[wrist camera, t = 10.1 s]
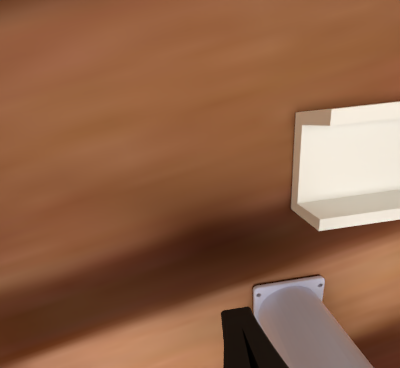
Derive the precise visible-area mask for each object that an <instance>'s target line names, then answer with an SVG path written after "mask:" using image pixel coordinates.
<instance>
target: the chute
mask: <svg viewBox="0 0 400 368" xmlns="http://www.w3.org/2000/svg"><path fill="white" fill-rule="evenodd" d="M291 209H292V210H293V211H294V212H295V213H297V214H298V215H299V216H301V217H302V218H303V219H304V220H306V221H307V222H308V223H309V224H311V225H312V226H313V227H314V228H316V229H317V230H318V231H322V230H329V229H336V228H343V227H350V226H357V225H364V224H371V223H378V222H385V221H392V220H399V219H400V101H396V102H387V103H378V104H368V105H359V106H350V107H341V108H332V109H323V110H314V111H305V112H296V117H295V136H294V156H293V176H292V196H291Z"/></svg>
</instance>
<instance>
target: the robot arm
mask: <svg viewBox="0 0 400 368" xmlns="http://www.w3.org/2000/svg"><path fill="white" fill-rule="evenodd" d="M324 283H325V279H324V278H323V277H322V276H314V277H308V278H302V279H295V280H289V281H283V282H276V283H270V284H264V285H257V286H255V287H254V288H253V313H252V311H251V309H250V308H249V307H243V308H237V309H231V310H224V311H222V312H221V318H222V328H223V339H224V368H373V366H372V365H371V364H370V363H369V361H368V360H367V359H366V357H365V356H364V355H363V354H362V352H361V351H360V350H359V348H358V347H357V346H356V345H355V343H354V342H353V341H352V340H351V338H350V337H349V336H348V334H347V333H346V332H345V331H344V329H343V328H342V327H341V325H340V324H339V323H338V322H337V320H336V319H335V318H334V316H333V315H332V314H331V313H330V311H329V310H328V309H327V308H326V306H325V305H324V304H323V302H322V299H323V291H324ZM258 293H259V294H258ZM253 314H254V315H253Z"/></svg>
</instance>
